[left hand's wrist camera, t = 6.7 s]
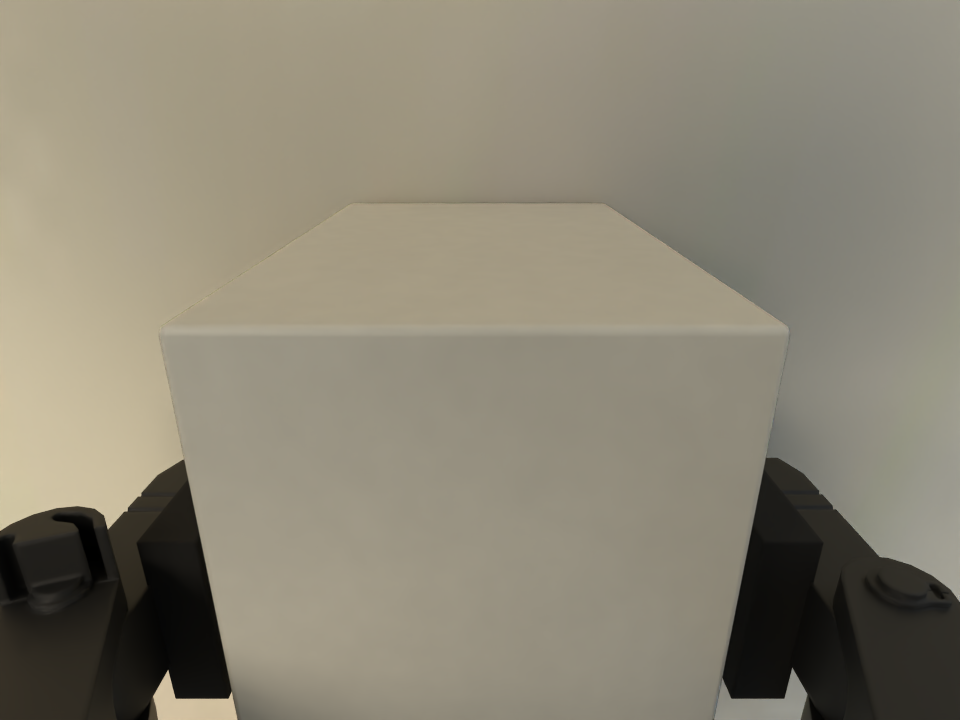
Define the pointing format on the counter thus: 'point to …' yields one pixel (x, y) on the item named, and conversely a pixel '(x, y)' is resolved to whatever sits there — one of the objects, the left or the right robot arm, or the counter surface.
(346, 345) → the post
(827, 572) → the left robot arm
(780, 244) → the counter surface
